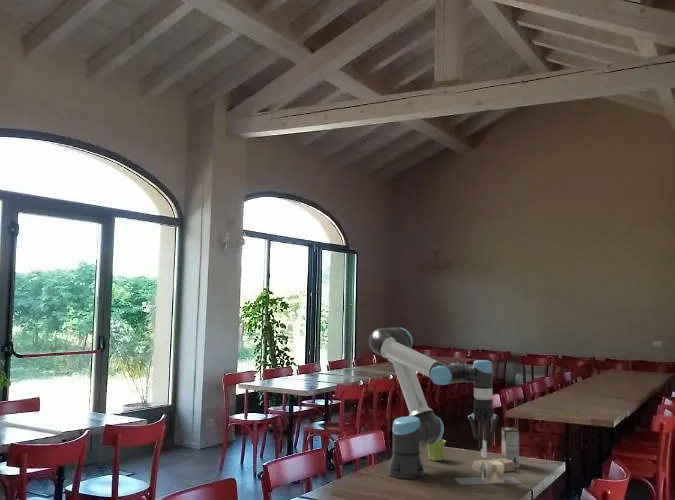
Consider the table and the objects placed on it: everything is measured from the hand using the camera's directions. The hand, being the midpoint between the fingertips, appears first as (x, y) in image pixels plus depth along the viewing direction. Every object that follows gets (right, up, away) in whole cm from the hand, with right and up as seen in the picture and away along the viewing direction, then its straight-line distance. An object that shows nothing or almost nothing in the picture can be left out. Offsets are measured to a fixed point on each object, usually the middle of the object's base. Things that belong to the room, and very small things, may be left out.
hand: (483, 456), depth 285 cm
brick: (+8, -12, +17) cm, 22 cm away
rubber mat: (+2, -10, -1) cm, 10 cm away
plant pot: (-14, -13, +38) cm, 42 cm away
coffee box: (+18, -12, +28) cm, 36 cm away
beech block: (0, -6, 0) cm, 6 cm away
